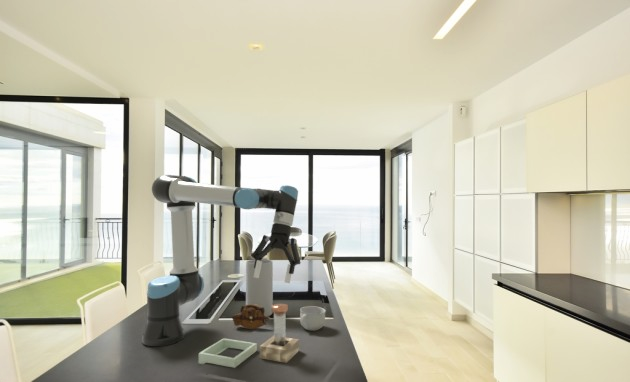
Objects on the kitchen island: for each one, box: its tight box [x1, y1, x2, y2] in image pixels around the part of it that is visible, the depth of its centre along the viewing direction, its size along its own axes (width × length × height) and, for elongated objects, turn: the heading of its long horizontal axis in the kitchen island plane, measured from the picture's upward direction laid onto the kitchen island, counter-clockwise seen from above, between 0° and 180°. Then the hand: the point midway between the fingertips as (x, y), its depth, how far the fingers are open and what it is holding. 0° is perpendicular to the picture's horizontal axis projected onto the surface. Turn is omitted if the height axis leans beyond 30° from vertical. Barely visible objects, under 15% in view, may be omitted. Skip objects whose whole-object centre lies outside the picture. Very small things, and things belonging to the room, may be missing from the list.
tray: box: [198, 337, 258, 369], centre depth 126 cm, size 14×14×4 cm
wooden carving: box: [231, 304, 271, 330], centre depth 155 cm, size 16×5×10 cm, turn 82°
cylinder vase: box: [245, 258, 274, 317], centre depth 174 cm, size 12×12×25 cm
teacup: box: [299, 305, 327, 332], centre depth 154 cm, size 14×11×8 cm
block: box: [259, 335, 300, 364], centre depth 127 cm, size 10×10×5 cm
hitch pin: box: [272, 303, 289, 346], centre depth 127 cm, size 6×6×17 cm
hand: (271, 280), depth 136 cm, fingers open, 13 cm apart
